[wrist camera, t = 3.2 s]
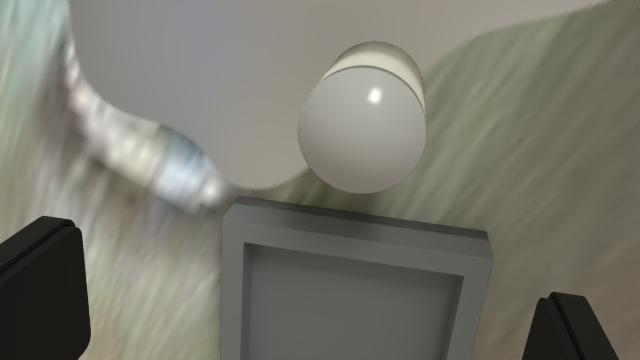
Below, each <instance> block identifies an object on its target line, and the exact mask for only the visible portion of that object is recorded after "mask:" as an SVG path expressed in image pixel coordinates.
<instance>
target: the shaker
mask: <svg viewBox="0 0 640 360" xmlns="http://www.w3.org/2000/svg"><path fill="white" fill-rule="evenodd" d="M298 141H299V145H300V149H301V152H302V154H303V157H304V159H305V160H306V162H307V164H308V165H309V167H310V168H311V169H312V171H313V172H314V173H315V174H316V175H317V176H318V177H319V178H321V179H322V180H323V181H324V182H326V183H328V184H329V185H331V186H333V187H335V188H337V189H340V190H343V191H346V192H351V193H359V194H368V193H376V192H380V191H383V190H386V189H389V188H391V187H393V186H395V185H397V184H398V183H400V182H401V181H403V180H404V179H405V178H406V177H407V176H408V175H409V174H410V173H411V172H412V171H413V170H414V168H415V167H416V166H417V164H418V162H419V160H420V159H421V156H422V153H423V151H424V147H425V142H426V121H425V103H424V86H423V79H422V75H421V72H420V70H419V68H418V66H417V64H416V63H415V62H414V60H413V59H412V58H411V57H410V56H409V55H408V54H407V53H406V52H405V51H403V50H402V49H400V48H399V47H397V46H395V45H392V44H389V43H385V42H378V41H377V42H376V41H372V42H365V43H360V44H358V45H355V46H353V47H351V48H349V49H348V50H346V51H345V52H344V53H342V54H341V55H340V56H339V57H338V59H337V60H336V61H335V63H334V64H333V65H332V66H331V67H330V69H329V70H328V72H327V73H326V74H325V75H324V77H323V78H322V79H321V81H320V82H319V83H318V85H317V86H316V87H315V88H314V90H313V91H312V92H311V94H310V95H309V96H308V98H307V99H306V101H305V103H304V105H303V107H302V109H301V112H300V116H299V120H298Z"/></svg>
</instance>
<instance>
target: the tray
mask: <svg viewBox="0 0 640 360" xmlns="http://www.w3.org/2000/svg"><path fill="white" fill-rule="evenodd" d="M492 263H493V256H492V252H491V248H490V244H489V240H488V236H487V232H485V231H478V230H471V229H464V228H457V227H450V226H443V225H436V224H429V223H422V222H415V221H409V220H402V219H395V218H388V217H381V216H374V215H367V214H360V213H353V212H346V211H339V210H332V209H325V208H318V207H311V206H304V205H297V204H290V203H283V202H276V201H269V200H262V199H255V198H248V197H241V196H239V197H238V198H237V199H236V201H235V202H234V204H233V205H232V206H231V208H230V209H229V210H228V212H227V213H226V214H225V216H224V217H223V218H222V272H221V356H220V360H470V357H471V352H472V348H473V344H474V340H475V335H476V331H477V327H478V323H479V318H480V314H481V310H482V306H483V301H484V297H485V293H486V289H487V284H488V280H489V276H490V272H491V267H492Z"/></svg>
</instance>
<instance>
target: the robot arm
mask: <svg viewBox="0 0 640 360" xmlns="http://www.w3.org/2000/svg"><path fill="white" fill-rule="evenodd" d="M90 337H91V327H90V316H89V305H88V294H87V283H86V272H85V261H84V250H83V239H82V232H81V230H80V229H79V228H77V227H75V224H74V222H73V221H71V220H69V219H63V218H56V217H49V216H42V217H39V218H38V219H36V220H35V221H33V222H32V223H31V224H29V225H28V226H26V227H25V228H23V229H22V230H20V231H19V232H17V233H16V234H14V235H13V236H11V237H10V238H8V239H7V240H6V241H4V242H3V243H1V244H0V360H78V359H79V357H80V356H81V355H82V354H83V353H84V352H85V350H86V349H87V347H88V345H89V342H90ZM522 360H619V359H618V357H617V355H616V353H615V351H614V350H613V348H612V346H611V344H610V342H609V340H608V338H607V336H606V335H605V333H604V331H603V329H602V327H601V325H600V323H599V321H598V319H597V318H596V316H595V314H594V312H593V310H592V308H591V306H590V304H589V303H588V301H587V299H586V298H585V297H583V296H578V295H572V294H565V293H558V292H552V293H551V294H550V295H549V297H548V299H547V298H540V299H539V301H538V303H537V306H536V310H535V313H534V317H533V321H532V324H531V328H530V332H529V335H528V339H527V343H526V346H525V350H524V354H523V357H522Z"/></svg>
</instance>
